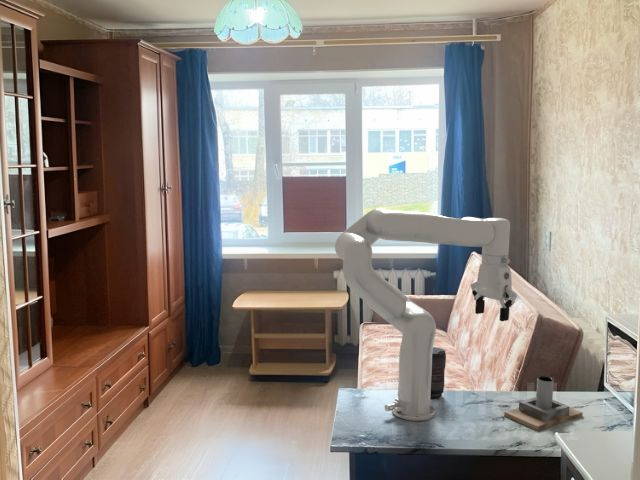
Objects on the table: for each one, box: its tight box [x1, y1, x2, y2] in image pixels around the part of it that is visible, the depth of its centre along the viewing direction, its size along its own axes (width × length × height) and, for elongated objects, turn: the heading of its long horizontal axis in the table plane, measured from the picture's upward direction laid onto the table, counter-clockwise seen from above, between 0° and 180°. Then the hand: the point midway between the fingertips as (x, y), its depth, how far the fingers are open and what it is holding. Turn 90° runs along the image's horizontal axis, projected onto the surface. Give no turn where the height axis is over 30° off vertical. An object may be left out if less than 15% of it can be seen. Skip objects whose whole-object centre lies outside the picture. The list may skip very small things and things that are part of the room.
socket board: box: [503, 396, 584, 431], centre depth 200 cm, size 20×12×4 cm, turn 122°
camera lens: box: [430, 346, 447, 401], centre depth 214 cm, size 8×8×15 cm
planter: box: [535, 375, 554, 410], centre depth 200 cm, size 4×4×10 cm
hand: (491, 316), depth 202 cm, fingers open, 9 cm apart
